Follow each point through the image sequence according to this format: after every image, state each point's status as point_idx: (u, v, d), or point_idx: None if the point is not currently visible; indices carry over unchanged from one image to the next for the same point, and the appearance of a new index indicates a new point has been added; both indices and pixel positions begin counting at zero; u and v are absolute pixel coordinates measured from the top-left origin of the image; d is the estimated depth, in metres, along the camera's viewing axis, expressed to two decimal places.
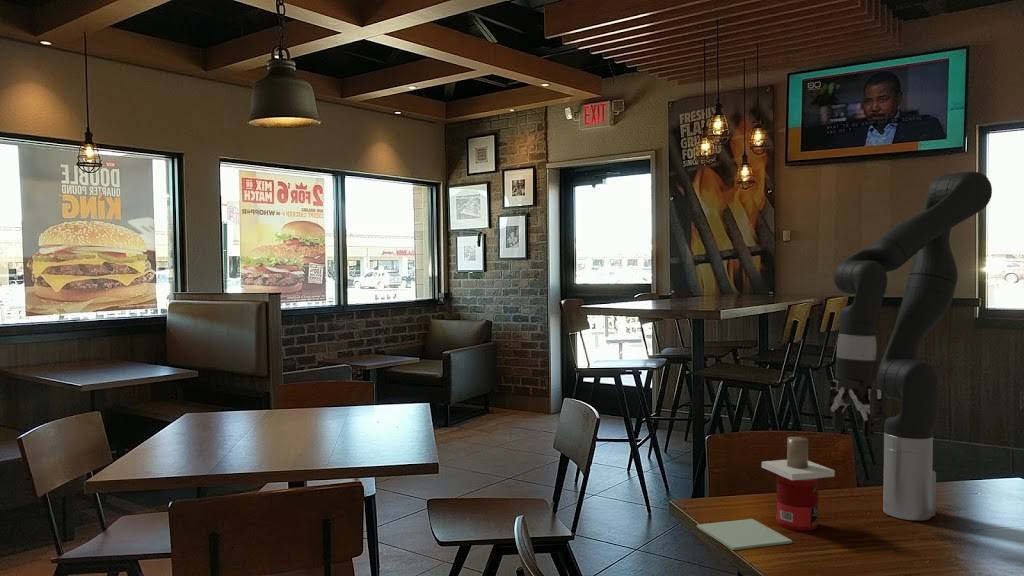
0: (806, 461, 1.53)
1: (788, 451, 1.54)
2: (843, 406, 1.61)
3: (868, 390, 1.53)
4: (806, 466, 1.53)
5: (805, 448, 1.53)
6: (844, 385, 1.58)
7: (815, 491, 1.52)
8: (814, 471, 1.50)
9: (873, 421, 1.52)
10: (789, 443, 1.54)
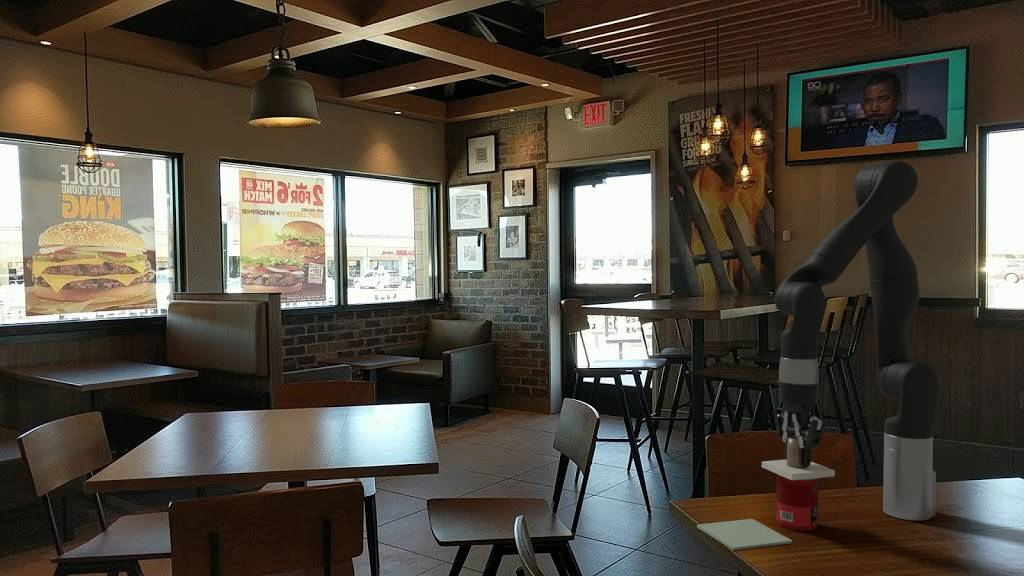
0: None
1: (788, 451, 1.54)
2: (794, 434, 1.57)
3: (810, 417, 1.50)
4: (806, 466, 1.53)
5: None
6: (788, 409, 1.56)
7: (815, 491, 1.52)
8: (814, 471, 1.50)
9: (809, 448, 1.52)
10: (789, 443, 1.54)
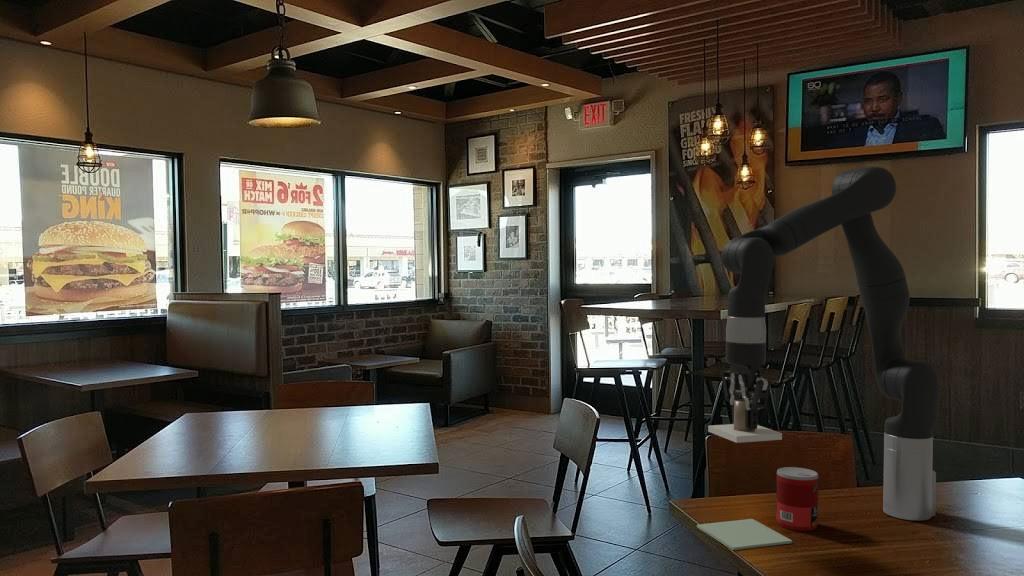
0: None
1: (735, 414, 1.48)
2: (741, 397, 1.51)
3: (756, 378, 1.44)
4: (753, 429, 1.47)
5: None
6: (735, 370, 1.50)
7: (815, 491, 1.52)
8: (760, 434, 1.44)
9: (756, 411, 1.45)
10: (735, 405, 1.48)
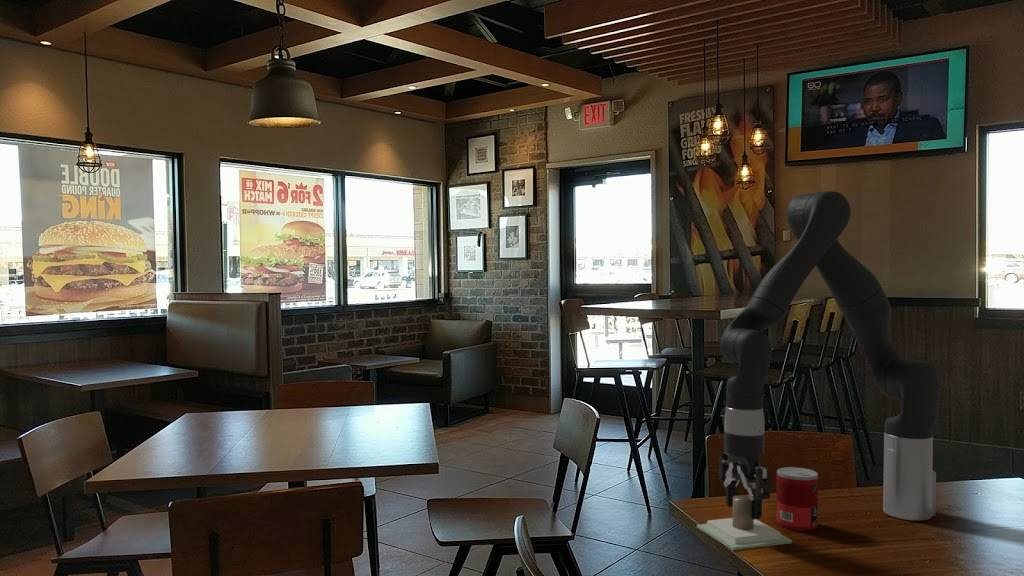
0: (751, 522, 1.48)
1: (733, 511, 1.49)
2: (736, 480, 1.53)
3: (755, 468, 1.45)
4: (751, 527, 1.48)
5: None
6: (734, 459, 1.50)
7: (815, 491, 1.52)
8: (758, 534, 1.45)
9: (760, 501, 1.44)
10: (734, 503, 1.49)
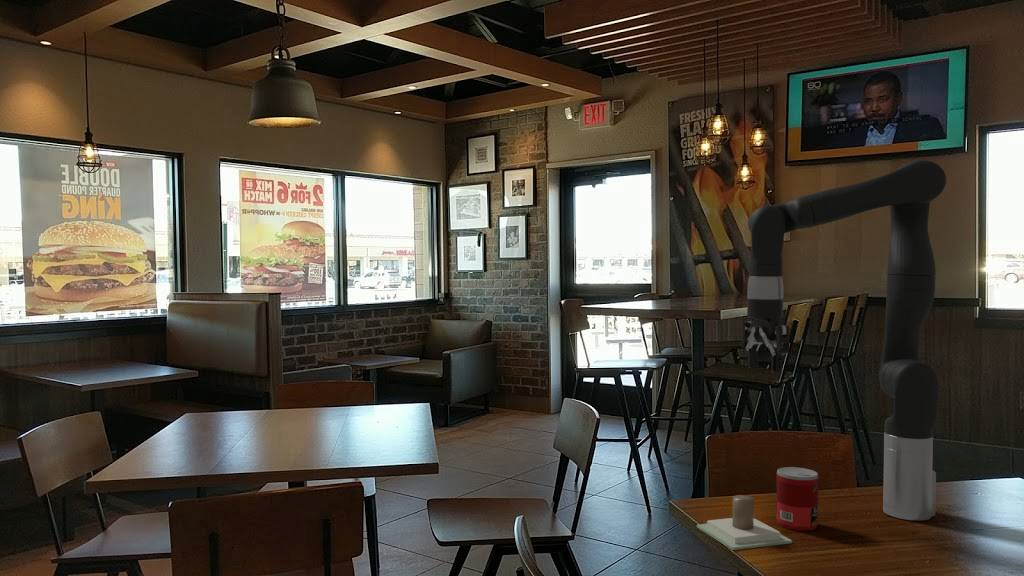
0: (751, 522, 1.48)
1: (733, 511, 1.49)
2: (757, 345, 1.71)
3: (775, 327, 1.62)
4: (751, 527, 1.48)
5: (750, 509, 1.47)
6: (756, 325, 1.68)
7: (815, 491, 1.52)
8: (758, 534, 1.45)
9: (780, 356, 1.62)
10: (734, 503, 1.49)
